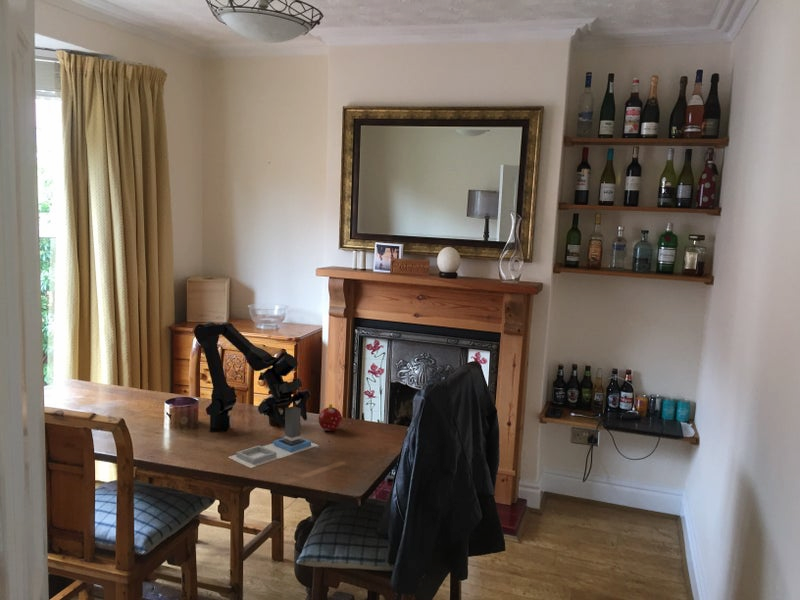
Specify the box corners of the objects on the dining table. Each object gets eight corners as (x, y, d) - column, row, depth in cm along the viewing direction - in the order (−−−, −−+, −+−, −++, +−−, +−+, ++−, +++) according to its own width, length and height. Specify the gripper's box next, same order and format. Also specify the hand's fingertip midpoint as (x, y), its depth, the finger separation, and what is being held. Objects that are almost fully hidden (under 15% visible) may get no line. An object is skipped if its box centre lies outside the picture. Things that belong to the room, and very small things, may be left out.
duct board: (250, 470, 192) (250, 463, 192) (227, 460, 200) (227, 452, 200) (318, 448, 214) (318, 440, 213) (295, 439, 221) (295, 432, 221)
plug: (281, 445, 212) (282, 407, 211) (293, 441, 216) (294, 405, 214) (290, 449, 209) (291, 411, 207) (302, 445, 213) (303, 408, 211)
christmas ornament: (313, 430, 230) (314, 404, 229) (327, 424, 238) (328, 399, 237) (332, 435, 226) (332, 409, 225) (346, 429, 233) (346, 403, 232)
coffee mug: (262, 426, 233) (262, 400, 232) (271, 419, 242) (271, 394, 240) (292, 429, 231) (292, 403, 230) (300, 422, 240) (300, 396, 238)
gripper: (263, 375, 205) (283, 416, 199) (308, 367, 219) (328, 405, 213) (249, 393, 211) (268, 433, 205) (293, 384, 225) (312, 421, 219)
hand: (295, 422), depth 210 cm, fingers open, 9 cm apart
